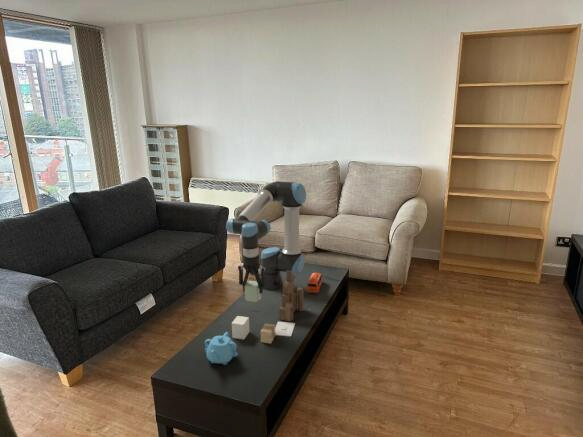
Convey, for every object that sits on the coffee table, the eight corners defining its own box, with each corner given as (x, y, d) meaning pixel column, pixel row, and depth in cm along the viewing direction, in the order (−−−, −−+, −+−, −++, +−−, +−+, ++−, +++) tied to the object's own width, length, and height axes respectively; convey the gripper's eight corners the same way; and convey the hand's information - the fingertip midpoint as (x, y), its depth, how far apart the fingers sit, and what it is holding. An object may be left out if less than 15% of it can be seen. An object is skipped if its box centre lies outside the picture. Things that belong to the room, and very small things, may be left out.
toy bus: (306, 293, 238) (306, 282, 236) (311, 281, 255) (311, 270, 253) (318, 295, 236) (318, 283, 234) (323, 282, 253) (323, 271, 251)
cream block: (238, 330, 201) (237, 315, 199) (249, 331, 199) (248, 317, 197) (232, 337, 194) (231, 323, 192) (244, 339, 193) (243, 324, 191)
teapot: (230, 348, 187) (228, 326, 184) (241, 364, 174) (239, 341, 172) (203, 357, 181) (201, 334, 178) (213, 373, 169) (210, 349, 166)
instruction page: (277, 322, 208) (277, 321, 208) (295, 323, 206) (295, 322, 206) (272, 334, 196) (272, 333, 196) (291, 336, 195) (290, 335, 195)
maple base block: (265, 334, 197) (265, 323, 196) (275, 335, 196) (275, 324, 194) (260, 342, 191) (260, 331, 189) (271, 343, 189) (270, 332, 188)
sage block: (250, 294, 205) (249, 280, 203) (261, 296, 204) (260, 281, 201) (245, 300, 200) (244, 286, 197) (257, 301, 198) (256, 287, 196)
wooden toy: (290, 322, 207) (289, 277, 200) (279, 319, 210) (278, 275, 203) (304, 309, 220) (304, 266, 213) (293, 306, 223) (293, 264, 216)
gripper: (229, 256, 194) (232, 299, 201) (267, 259, 189) (269, 303, 196) (235, 250, 201) (238, 292, 207) (272, 253, 196) (273, 296, 203)
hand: (253, 297), depth 202 cm, fingers closed on sage block, 6 cm apart
